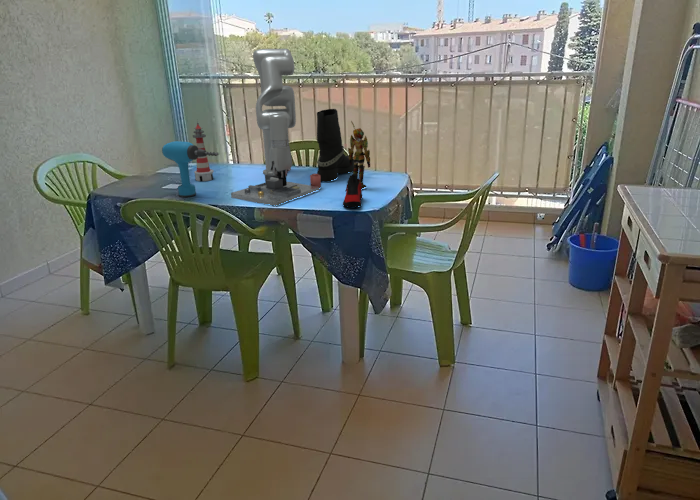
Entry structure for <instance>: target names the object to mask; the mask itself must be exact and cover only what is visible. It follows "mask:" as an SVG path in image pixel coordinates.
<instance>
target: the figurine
mask: <svg viewBox="0 0 700 500" xmlns="http://www.w3.org/2000/svg"><path fill="white" fill-rule="evenodd" d="M350 123H351V125H352V127H353V129H352V130H353V131H352V133H353V134H351V135H350V139H349V140H350V141H349V144H350V145H349V147H348V148H347V150H348V151H347V152H348V156H349V160H350V165H351V166H352V161H354V171H353V172H352V174H353V173H355V174H356V175H357V178H358V179H359V181H360V183H361V188H364V187H367V185H366V184H364V174H365V167H366V166H365V164H364V163H365V161H366V164H367V168H371V157H370V149H368V147H369V146H368V145H369V143H368V137H367V135H365V131H363V130H362V129H361V127H359V128H355V125H354V122H353V121H352V120H351V121H350ZM364 135H365V136H364ZM354 150H355V151H354Z"/></svg>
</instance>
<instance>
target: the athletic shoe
mask: <svg viewBox="0 0 700 500" xmlns="http://www.w3.org/2000/svg"><path fill="white" fill-rule="evenodd" d="M348 176H349V177H348V180H347V184H346V187H345V191H344V192H346V193H345V196H344V199H343V202H342V206H343V205H344V206H348V207H347V208H350V207H358V206H361V203H362V200H361V198H362V196H363V190H361V189H362V188H361V183H360V181H359V177H358V178H357V175H356V174H355V173H353V172H352V173H350V175H348ZM362 199H363V198H362ZM344 206H343V207H344ZM361 207H362V206H361ZM358 208H359V207H358Z"/></svg>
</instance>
